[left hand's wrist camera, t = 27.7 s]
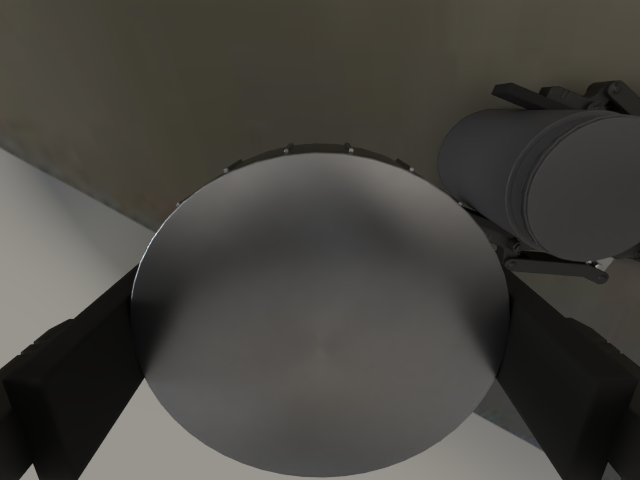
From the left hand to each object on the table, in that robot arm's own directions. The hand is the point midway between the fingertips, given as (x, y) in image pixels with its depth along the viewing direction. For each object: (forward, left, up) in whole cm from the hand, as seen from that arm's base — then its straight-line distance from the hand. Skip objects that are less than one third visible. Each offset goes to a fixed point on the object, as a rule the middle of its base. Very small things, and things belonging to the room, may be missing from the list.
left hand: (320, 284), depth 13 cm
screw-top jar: (+3, +17, -25) cm, 31 cm away
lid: (0, 0, +3) cm, 3 cm away
